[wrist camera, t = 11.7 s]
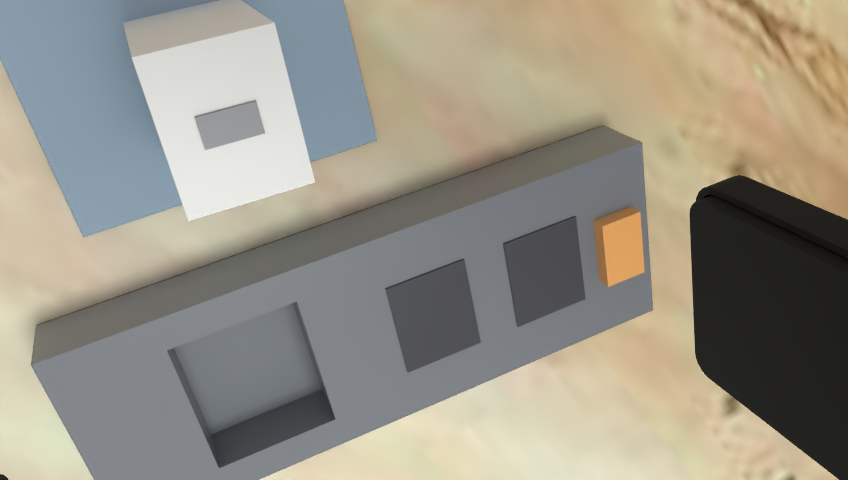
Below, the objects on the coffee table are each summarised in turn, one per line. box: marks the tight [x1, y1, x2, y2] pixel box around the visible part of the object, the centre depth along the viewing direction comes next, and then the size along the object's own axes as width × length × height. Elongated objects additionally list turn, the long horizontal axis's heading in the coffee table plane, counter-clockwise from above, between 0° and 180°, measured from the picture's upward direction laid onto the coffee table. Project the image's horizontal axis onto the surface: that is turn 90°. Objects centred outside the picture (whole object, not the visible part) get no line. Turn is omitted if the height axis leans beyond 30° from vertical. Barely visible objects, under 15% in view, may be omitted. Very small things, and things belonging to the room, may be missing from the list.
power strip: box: [31, 126, 653, 480], centre depth 34 cm, size 26×9×4 cm, turn 102°
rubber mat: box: [0, 0, 377, 237], centre depth 28 cm, size 12×9×1 cm
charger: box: [123, 0, 315, 221], centre depth 25 cm, size 4×5×7 cm
